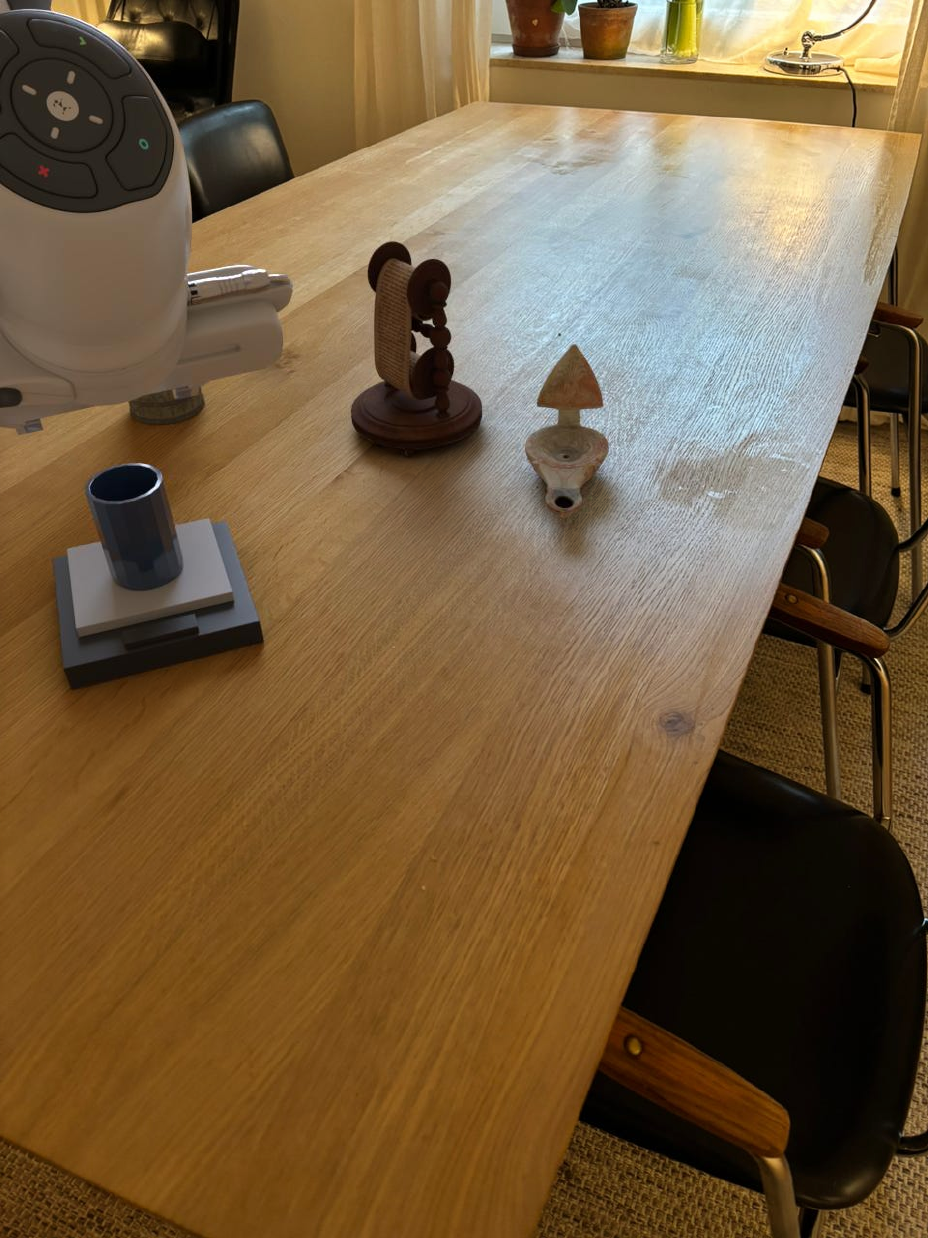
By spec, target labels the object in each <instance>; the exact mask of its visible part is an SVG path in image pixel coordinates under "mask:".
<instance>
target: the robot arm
mask: <svg viewBox="0 0 928 1238" xmlns="http://www.w3.org/2000/svg"><path fill="white" fill-rule="evenodd" d="M52 1H53V0H0V428H5V429H12V430H13V429H15V431H16V434H17V435H18V436H23V435H26V434H31V433H35V432H39V431H44V427H43V424H42V421H41V419H45V418H49V417H53V416H58V415H63V414H67V413H71V412H76V411H81V410H85V409H89V408H94V407H99V406H100V407H102V406H103V407H104V406H114V405H120V404H124V403H129V401H131V400H134V399H137V398H139V397H141V396H144V395H149V394H153V393H158V392H162V391H167V390H171V389H172V392H173V395H174V398H175V400H177V399H181V398H186V397H191V396H196V395H198V394H199V387H201V388H202V387H203V386H205V385H206V384H208V383H210V382H212V381H216V380H220V379H225V378H229V377H233V376H239V375H242V374H247V373H253V372H257V371H262V370H264V369H267V368H269V367H270V366H272V365H274V364H275V363H276V362H278V361H279V360H280V359H281V358H282V355H283V351H284V350H283V349H284V333H283V328H282V324H281V321H280V318H279V314H278V313H279V312H281V311H283V310H284V309H286V308H287V307H288V306H289V304H290V302H291V299H292V296H293V292H294V290H293V287H294V284H293V282H292V279H290V277H289V276H288V274H286V273H279V274H269V273H268V271H267V270H266V269H260V268H258V267H255V266H253V265H249V264H248V265H247V264H238V265H228V266H223V267H217V268H212V269H206V270H201V271H196V272H190V273H188V268H189V264H190V259H191V252H192V241H193V240H192V239H193V236H192V235H193V211H192V195H191V185H190V176H189V170H188V169H189V168H188V164H187V158H186V153H185V148H184V144H183V140H182V137H181V134H180V130H179V127H178V125H177V122H176V121H175V118H174V116H173V113H172V111H171V109H170V107H169V105H168V103H167V101H166V99H165V98H164V96H163V94H162V93H161V91H160V89H159V88H158V86H157V85H156V83H155V82H154V80H153V79H152V78H151V76H150V75H149V73H148V71H146V68H144V66H143V65H141V63H140V62H139V61H138V59H136V58H135V57H134V56H133V54H131V53H130V52H129V51H128V49H126V48H125V47H124V46H123V45H122V44H120V43H119V42H118V41H117V40H115V39H114V37H113V38H112V37H111V35H109V34H107V33H106V32H104V31H102V30H101V29H99V28H97V27H96V26H95V25H92V24H90V23H88V22H86V21H84V20H81V19H79V18H77V17H74V16H71V15H67V14H64V13H61V12H56V11H53V10H51V8H52V3H53V2H52Z"/></svg>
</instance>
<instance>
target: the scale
mask: <svg viewBox="0 0 928 1238" xmlns="http://www.w3.org/2000/svg"><path fill="white" fill-rule="evenodd" d="M174 525H175V524H174ZM175 529H176V533H177V537H178V541H179V545H180V549H181V553H182V557H183V561H184V566H183V570H182V571H181V573H180V574H179V575H178V577H177V578H175V579H174V580H173V581H171V582H170V583H168V584H166V585H164V586H161V587H159V588H155V589H151V590H145V591H133V590H128V589H124V588H122V587H120V586H118V585H117V584H116V583H115V582H114V580H113V578H112V576H111V573H110V570H109V567H108V563H107V560H106V557H105V554H104V551H103V548H102V544H101V541H95V542H92V543H88V544H87V543H86V544H83V545H78V546H73V547H69V548H66V553H67V554H66V555H65V554H64V555H61V556H56V557H53V558H52V568H53V578H54V589H55V598H56V600H55V601H56V609H57V610H56V611H57V621H58V629H59V631H58V632H59V640H60V649H61V650H60V652H61V660H62V661H61V663H62V670H63V672H64V675H65V677H66V681H67V683H68V685H69V688H70V690H71V691H73V690H76V689H81V688H84V687H90V686H93V685H96V684H97V685H98V684H101V683H105V682H109V681H114V680H117V679H121V678H124V677H129V676H132V675H133V676H134V675H137V674H141V673H145V672H150V671H152V670H153V671H154V670H157V669H161V668H165V667H168V666H169V667H170V666H172V665H177V664H180V663H181V664H182V663H185V662H189V661H192V660H196V659H200V658H205V657H208V656H212V655H217V654H221V653H225V652H228V651H233V650H236V649H241V648H245V647H249V646H253V645H256V644H260V643H264V642H265V639H264V634H263V630H262V625H261V620H260V617H259V614H258V611H257V608H256V605H255V602H254V600H253V596H252V593H251V591H250V587H249V585H248V581H247V578H246V575H245V573H244V569H243V567H242V564H241V561H240V558H239V555H238V552H237V549H236V546H235V543H234V540H233V537H232V534H231V532H230V528H229V525H228V522H227V520H222V521H217V522H213V523H212V522H211V519H210V517H209V518H204V519H199V520H193V521H190V522H189V521H188V522H185V523H180V524H176V525H175Z"/></svg>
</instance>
